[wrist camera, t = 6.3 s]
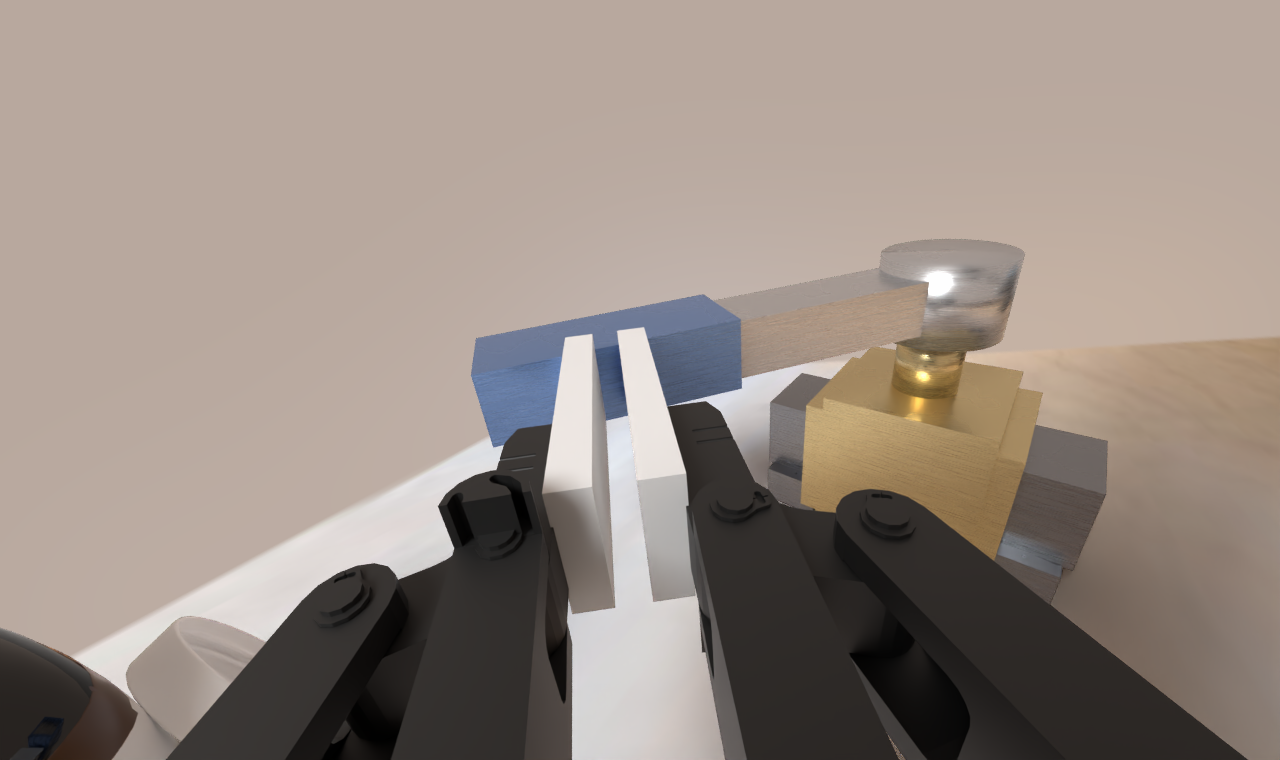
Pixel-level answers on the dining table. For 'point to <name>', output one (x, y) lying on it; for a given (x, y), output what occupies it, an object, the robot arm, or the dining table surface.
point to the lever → (762, 330)
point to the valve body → (943, 455)
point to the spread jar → (115, 694)
